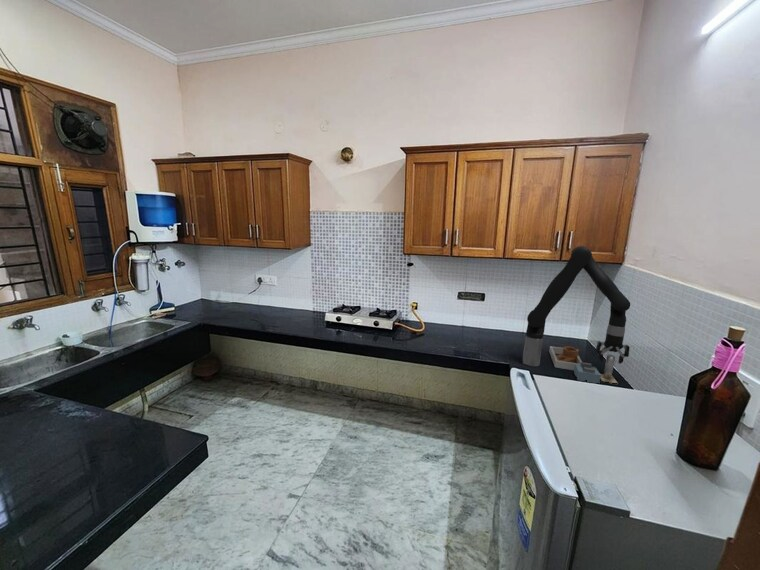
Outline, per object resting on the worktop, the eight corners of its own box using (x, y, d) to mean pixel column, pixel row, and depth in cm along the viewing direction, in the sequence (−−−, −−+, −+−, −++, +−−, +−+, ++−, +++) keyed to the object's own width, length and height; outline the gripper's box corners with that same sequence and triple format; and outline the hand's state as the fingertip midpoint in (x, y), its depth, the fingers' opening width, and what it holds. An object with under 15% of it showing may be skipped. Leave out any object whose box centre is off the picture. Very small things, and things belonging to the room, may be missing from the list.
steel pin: (604, 378, 170) (608, 356, 168) (602, 375, 173) (606, 354, 171) (612, 380, 169) (616, 357, 166) (610, 377, 172) (613, 355, 170)
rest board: (602, 381, 168) (602, 380, 168) (597, 374, 177) (597, 373, 176) (617, 384, 166) (617, 383, 166) (612, 376, 174) (612, 375, 174)
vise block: (577, 380, 170) (579, 368, 168) (573, 372, 179) (575, 360, 178) (599, 383, 166) (601, 371, 165) (594, 375, 175) (596, 363, 174)
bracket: (567, 355, 201) (568, 345, 200) (580, 360, 194) (581, 349, 193) (549, 361, 193) (550, 351, 191) (563, 367, 186) (564, 356, 184)
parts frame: (554, 367, 185) (555, 360, 184) (549, 351, 207) (549, 346, 206) (583, 371, 180) (584, 365, 179) (574, 355, 202) (575, 349, 201)
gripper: (601, 333, 165) (596, 362, 168) (634, 337, 160) (628, 366, 163) (597, 329, 172) (593, 356, 175) (628, 332, 167) (623, 361, 170)
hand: (610, 361), depth 169 cm, fingers open, 8 cm apart
